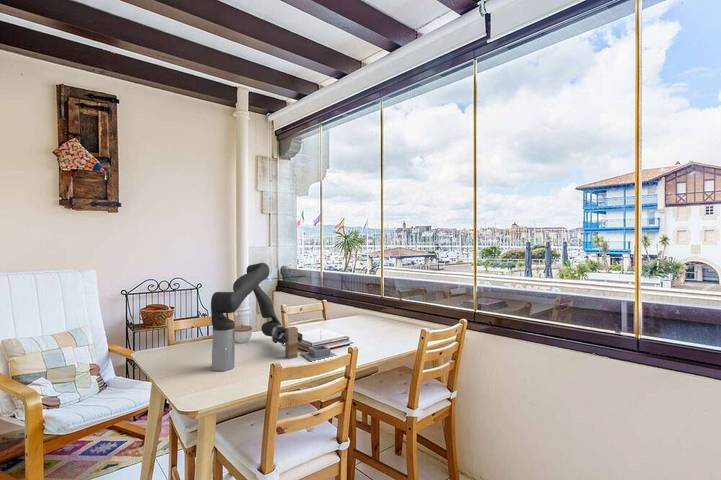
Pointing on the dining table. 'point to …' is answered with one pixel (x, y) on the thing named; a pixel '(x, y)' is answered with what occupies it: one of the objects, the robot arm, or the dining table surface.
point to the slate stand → (317, 353)
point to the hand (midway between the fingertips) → (292, 340)
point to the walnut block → (291, 342)
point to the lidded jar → (242, 333)
